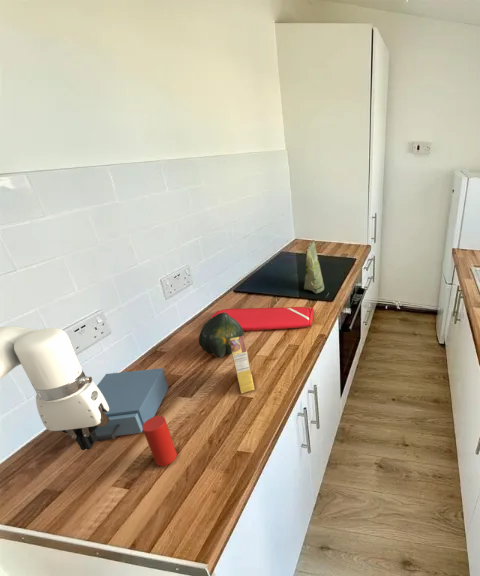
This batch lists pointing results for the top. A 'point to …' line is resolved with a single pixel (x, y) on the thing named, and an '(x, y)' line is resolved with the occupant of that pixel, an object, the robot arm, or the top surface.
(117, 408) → the cabinet
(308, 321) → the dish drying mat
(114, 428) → the drawer
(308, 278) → the pale green cone
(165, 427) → the tin
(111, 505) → the top surface
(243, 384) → the candy box
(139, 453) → the top surface
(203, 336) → the squash
